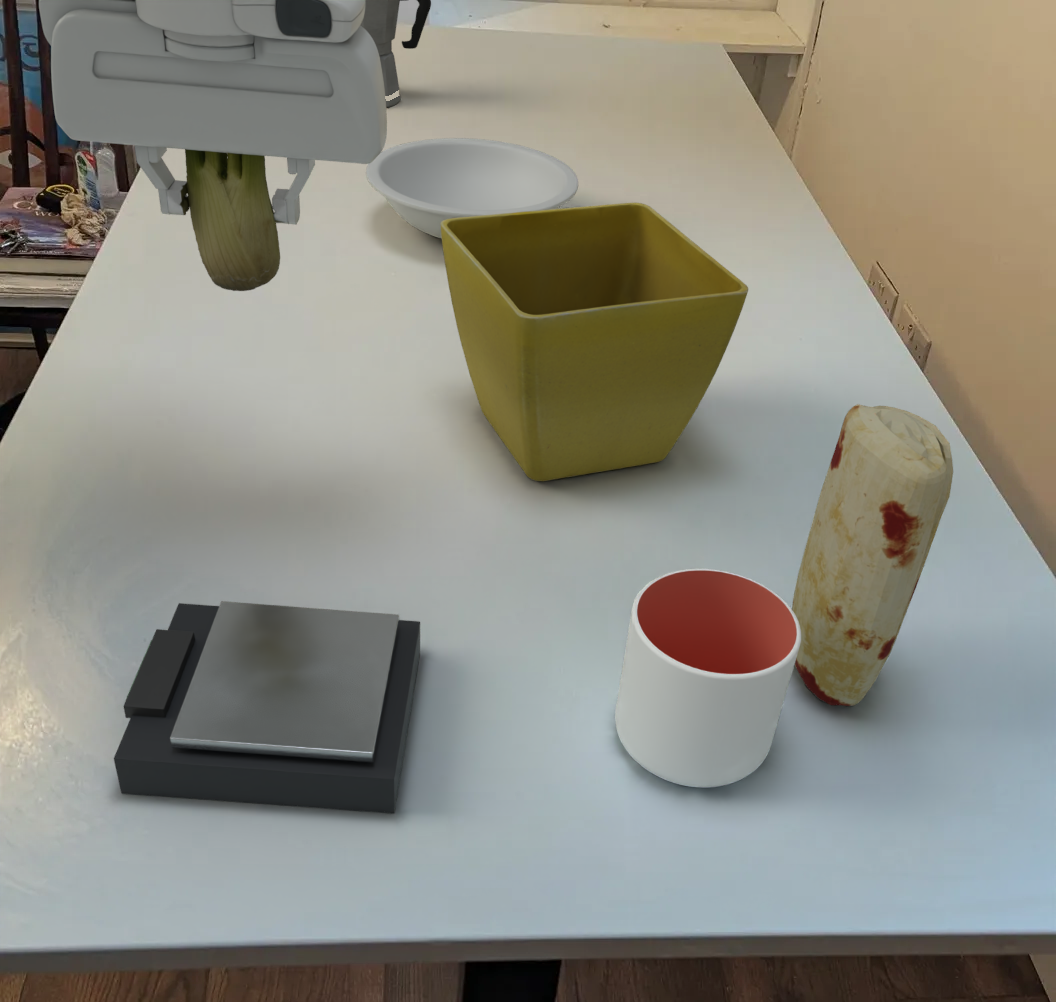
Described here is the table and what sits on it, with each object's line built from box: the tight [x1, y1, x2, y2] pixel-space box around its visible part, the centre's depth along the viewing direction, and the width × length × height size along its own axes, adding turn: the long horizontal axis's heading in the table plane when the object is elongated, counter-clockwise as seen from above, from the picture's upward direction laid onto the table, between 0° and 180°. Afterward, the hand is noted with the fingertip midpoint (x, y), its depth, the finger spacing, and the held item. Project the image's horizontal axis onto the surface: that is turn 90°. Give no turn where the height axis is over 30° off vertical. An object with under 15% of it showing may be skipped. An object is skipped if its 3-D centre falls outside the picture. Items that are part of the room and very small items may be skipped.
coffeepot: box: [360, 0, 432, 108], centre depth 167 cm, size 15×9×18 cm, turn 88°
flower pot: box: [440, 202, 749, 482], centre depth 98 cm, size 19×19×17 cm
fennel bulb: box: [184, 149, 281, 292], centre depth 77 cm, size 6×5×12 cm
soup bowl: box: [365, 137, 579, 240], centre depth 135 cm, size 24×24×7 cm
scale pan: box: [170, 600, 400, 762], centre depth 72 cm, size 12×12×1 cm
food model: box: [791, 403, 954, 707], centre depth 75 cm, size 10×7×20 cm
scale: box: [113, 602, 421, 814], centre depth 73 cm, size 16×14×4 cm
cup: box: [614, 568, 801, 788], centre depth 73 cm, size 10×10×10 cm
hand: (232, 216), depth 78 cm, fingers closed on fennel bulb, 6 cm apart
